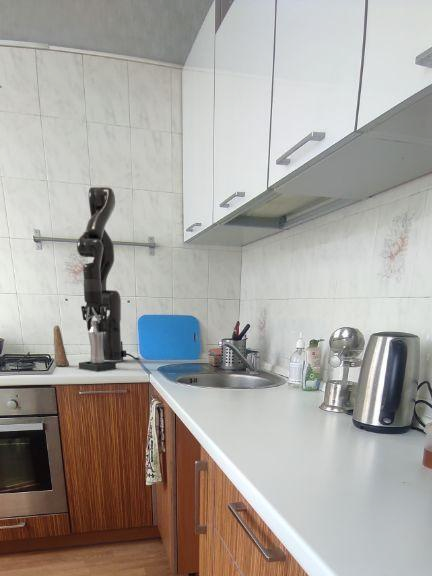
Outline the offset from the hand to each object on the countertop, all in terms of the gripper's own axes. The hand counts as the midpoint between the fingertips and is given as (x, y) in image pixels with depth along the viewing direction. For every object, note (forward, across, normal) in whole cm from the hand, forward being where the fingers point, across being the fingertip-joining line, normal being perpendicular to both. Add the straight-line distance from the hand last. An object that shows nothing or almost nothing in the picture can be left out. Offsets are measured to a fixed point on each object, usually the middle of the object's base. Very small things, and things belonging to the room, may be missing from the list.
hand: (95, 331), depth 206 cm
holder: (+16, 0, 0) cm, 16 cm away
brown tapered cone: (+7, +18, +5) cm, 20 cm away
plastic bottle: (+16, 0, 0) cm, 16 cm away
